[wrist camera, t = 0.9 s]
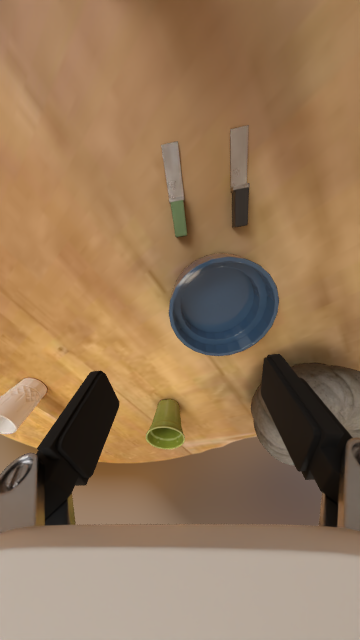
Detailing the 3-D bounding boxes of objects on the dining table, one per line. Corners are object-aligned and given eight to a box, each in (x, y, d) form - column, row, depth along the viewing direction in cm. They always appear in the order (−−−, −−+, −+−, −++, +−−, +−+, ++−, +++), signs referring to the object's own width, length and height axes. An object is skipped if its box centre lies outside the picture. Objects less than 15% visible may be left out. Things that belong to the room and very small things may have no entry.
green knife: (188, 235, 26) (188, 235, 25) (175, 237, 27) (174, 237, 25) (177, 142, 21) (177, 134, 20) (161, 145, 22) (159, 138, 20)
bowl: (164, 261, 28) (159, 267, 23) (266, 245, 27) (286, 247, 21) (179, 341, 36) (178, 360, 31) (258, 333, 34) (272, 350, 29)
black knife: (245, 225, 25) (249, 224, 24) (230, 227, 26) (233, 227, 24) (247, 126, 21) (253, 116, 19) (230, 130, 21) (233, 121, 19)
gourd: (235, 361, 35) (299, 462, 20) (345, 327, 35) (489, 402, 20) (241, 418, 48) (281, 504, 33) (321, 393, 48) (396, 468, 33)
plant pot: (146, 408, 47) (139, 442, 40) (161, 389, 43) (156, 422, 36) (174, 419, 49) (172, 453, 42) (191, 401, 45) (192, 435, 38)
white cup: (28, 371, 42) (-14, 408, 33) (55, 388, 44) (23, 426, 36) (13, 383, 44) (-30, 421, 35) (40, 399, 47) (6, 437, 38)
